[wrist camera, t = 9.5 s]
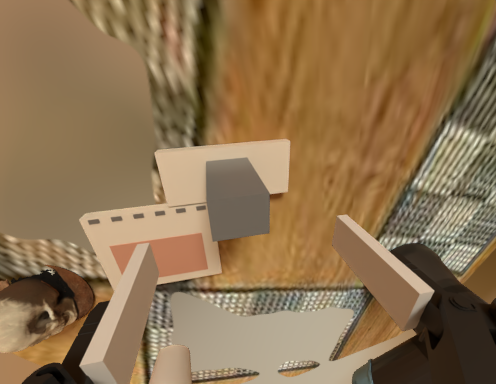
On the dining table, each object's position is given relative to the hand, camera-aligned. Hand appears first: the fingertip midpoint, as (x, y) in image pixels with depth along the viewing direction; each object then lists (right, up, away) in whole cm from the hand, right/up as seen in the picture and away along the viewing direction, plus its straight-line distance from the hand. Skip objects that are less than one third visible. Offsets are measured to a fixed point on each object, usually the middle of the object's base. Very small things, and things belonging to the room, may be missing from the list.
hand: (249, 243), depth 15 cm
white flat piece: (-13, -4, +16) cm, 21 cm away
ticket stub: (-3, +7, +13) cm, 15 cm away
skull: (-30, -11, +16) cm, 36 cm away
